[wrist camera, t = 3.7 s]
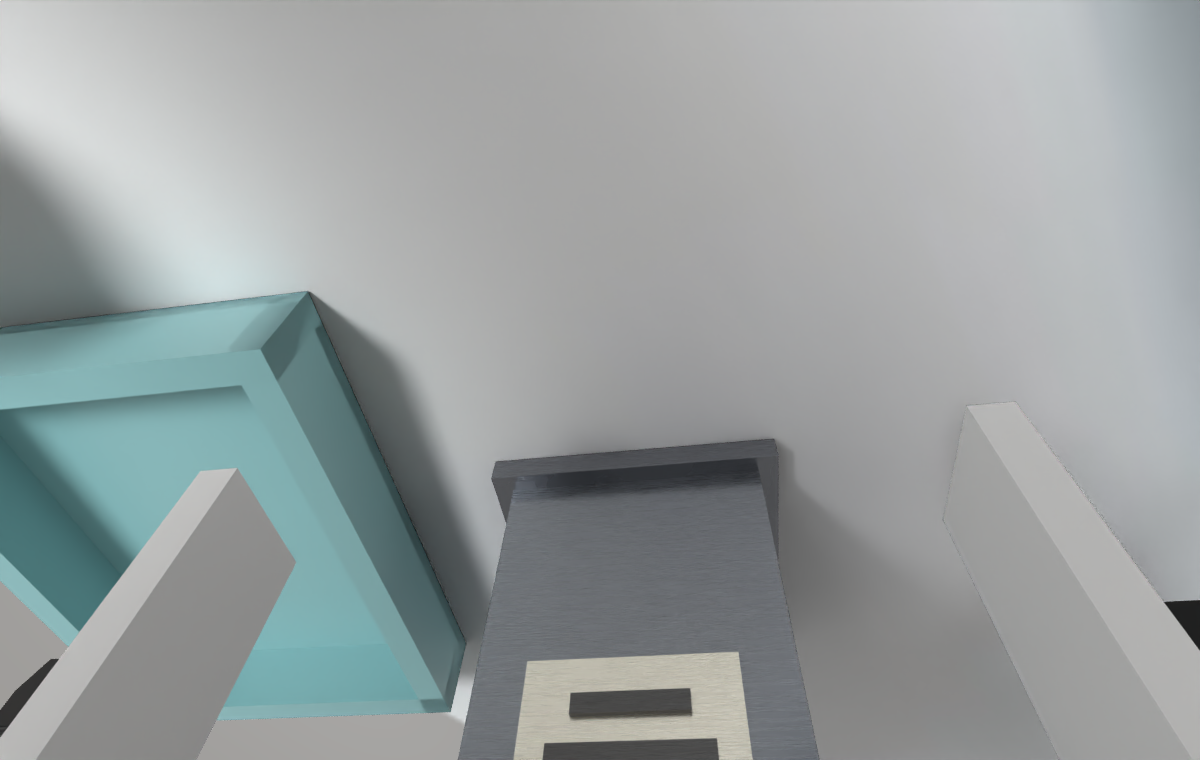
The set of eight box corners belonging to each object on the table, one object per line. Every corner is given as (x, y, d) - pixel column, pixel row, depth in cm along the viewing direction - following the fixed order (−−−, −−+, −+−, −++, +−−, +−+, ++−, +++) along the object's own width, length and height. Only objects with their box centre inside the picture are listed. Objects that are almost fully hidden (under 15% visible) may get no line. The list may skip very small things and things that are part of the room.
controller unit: (495, 461, 23) (356, 1026, 11) (774, 438, 22) (923, 1039, 10) (557, 652, 29) (506, 1135, 18) (774, 642, 28) (866, 1151, 17)
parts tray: (-93, 338, 21) (-189, 397, 18) (307, 291, 19) (260, 349, 17) (185, 657, 31) (147, 722, 28) (466, 643, 29) (450, 711, 27)
